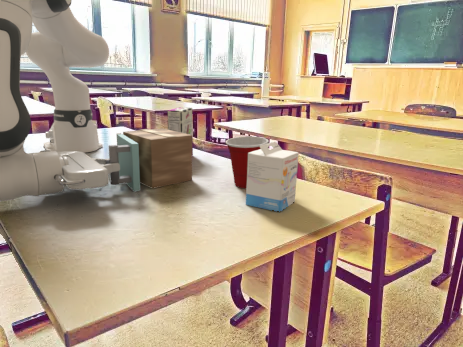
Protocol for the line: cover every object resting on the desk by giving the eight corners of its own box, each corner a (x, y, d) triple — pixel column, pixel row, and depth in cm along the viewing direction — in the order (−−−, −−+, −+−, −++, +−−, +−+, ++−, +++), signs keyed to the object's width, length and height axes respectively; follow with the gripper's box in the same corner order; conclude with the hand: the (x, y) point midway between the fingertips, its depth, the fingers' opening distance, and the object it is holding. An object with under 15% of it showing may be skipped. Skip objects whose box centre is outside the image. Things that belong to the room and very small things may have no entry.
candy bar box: (179, 154, 125) (179, 106, 120) (193, 155, 124) (193, 107, 120) (167, 161, 114) (166, 109, 110) (182, 163, 113) (182, 110, 109)
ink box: (279, 213, 75) (284, 150, 71) (244, 204, 79) (247, 144, 75) (295, 201, 82) (300, 143, 78) (262, 194, 86) (265, 139, 82)
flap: (100, 176, 94) (97, 134, 92) (123, 174, 97) (121, 133, 95) (113, 194, 82) (111, 145, 79) (140, 190, 85) (138, 143, 82)
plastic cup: (216, 182, 94) (217, 137, 91) (249, 177, 100) (251, 134, 97) (240, 194, 85) (242, 144, 82) (274, 187, 91) (278, 141, 88)
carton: (125, 175, 98) (123, 131, 94) (163, 169, 106) (162, 127, 102) (152, 188, 88) (151, 138, 84) (192, 179, 96) (192, 134, 92)
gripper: (59, 169, 66) (131, 160, 74) (40, 149, 82) (101, 143, 90) (62, 201, 68) (133, 189, 76) (43, 175, 84) (103, 167, 92)
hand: (115, 164), depth 83 cm, fingers open, 3 cm apart
